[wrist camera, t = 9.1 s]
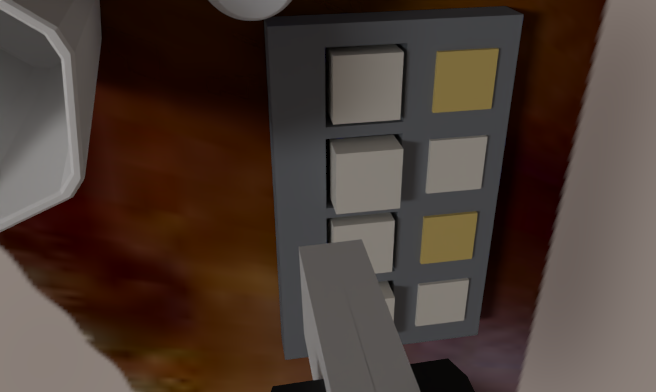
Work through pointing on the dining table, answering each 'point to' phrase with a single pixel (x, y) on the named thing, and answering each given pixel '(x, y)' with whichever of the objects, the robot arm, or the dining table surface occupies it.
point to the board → (418, 155)
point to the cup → (45, 101)
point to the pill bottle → (250, 8)
